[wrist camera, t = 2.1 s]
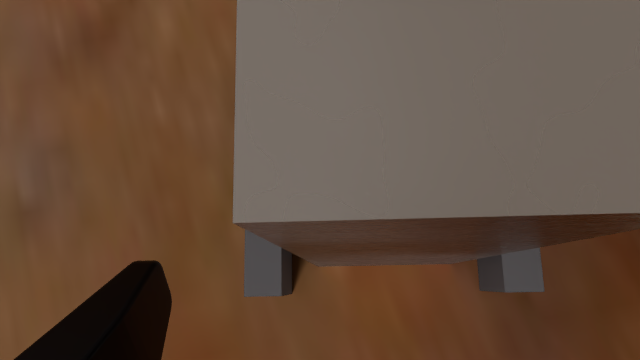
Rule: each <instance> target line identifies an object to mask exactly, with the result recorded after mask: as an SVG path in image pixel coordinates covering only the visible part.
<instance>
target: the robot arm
mask: <svg viewBox="0 0 640 360" xmlns="http://www.w3.org/2000/svg"><path fill="white" fill-rule="evenodd" d="M171 305H172V299H171V293H170V290H169V287H168V284H167V280H166V277H165V274H164V271H163V268H162V266H161V264H160V263H159V262H158V261H154V260H153V261H135V262H133V263H131V264H130V265H128V266H127V267H126V268H125V269H123V270H122V271H121V272H120V273H119V274H117V275H116V276H115V277H114V278H113V279H111V280H110V281H109V282H108V283H106V284H105V285H104V286H103V287H102V288H100V289H99V290H98V291H97V292H95V293H94V294H93V295H92V296H91V297H89V298H88V299H87V300H86V301H85V302H83V303H82V304H81V305H80V306H78V307H77V308H76V309H75V310H74V311H72V312H71V313H70V314H69V315H67V316H66V317H65V318H64V319H63V320H61V321H60V322H59V323H58V324H57V325H55V326H54V327H53V328H52V329H50V330H49V331H48V332H47V333H46V334H44V335H43V336H42V337H41V338H39V339H38V340H37V341H36V342H35V343H33V344H32V345H31V346H30V347H29V348H27V349H26V350H25V351H24V352H22V353H21V354H20V355H19V356H18V357H16V358H15V359H14V360H161V358H162V353H163V348H164V342H165V337H166V332H167V327H168V322H169V317H170V312H171Z"/></svg>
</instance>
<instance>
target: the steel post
mask: <svg viewBox="0 0 640 360" xmlns="http://www.w3.org/2000/svg"><path fill="white" fill-rule="evenodd" d="M233 223H234V224H236V225H238V226H240V227H242V228H244V229H246V230H248V231H250V232H252V233H254V234H255V235H257V236H259V237H261V238H263V239H265V240H267V241H269V242H271V243H273V244H275V245H277V246H279V247H281V248H283V249H285V250H287V251H289V252H291V253H293V254H295V255H297V256H299V257H301V258H303V259H305V260H306V261H308V262H310V263H312V264H314V265H316V266H366V265H416V264H452V263H458V262H463V261H469V260H474V259H479V258H485V257H490V256H496V255H501V254H507V253H512V252H518V251H523V250H528V249H534V248H539V247H545V246H550V245H556V244H561V243H566V242H572V241H577V240H583V239H588V238H594V237H599V236H605V235H610V234H615V233H621V232H626V231H632V230H637V229H640V0H237V33H236V85H235V137H234V189H233Z"/></svg>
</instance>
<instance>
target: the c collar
mask: <svg viewBox="0 0 640 360" xmlns="http://www.w3.org/2000/svg"><path fill="white" fill-rule="evenodd" d="M477 262H478V274H479V286H480V291H494V292H544V283H543V274H542V265H541V256H540V247H539V248H534V249H528V250H523V251H518V252H512V253H507V254H501V255H496V256H490V257H485V258H479V259H477ZM288 294H292V253H291V252H289V251H287V250H285V249H283V248H281V247H279V246H277V245H275V244H273V243H271V242H269V241H267V240H265V239H263V238H261V237H259V236H257V235H255V234H254V233H252V232H250V231H248V230H246V229H245V273H244V297H247V296H284V295H288Z"/></svg>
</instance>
